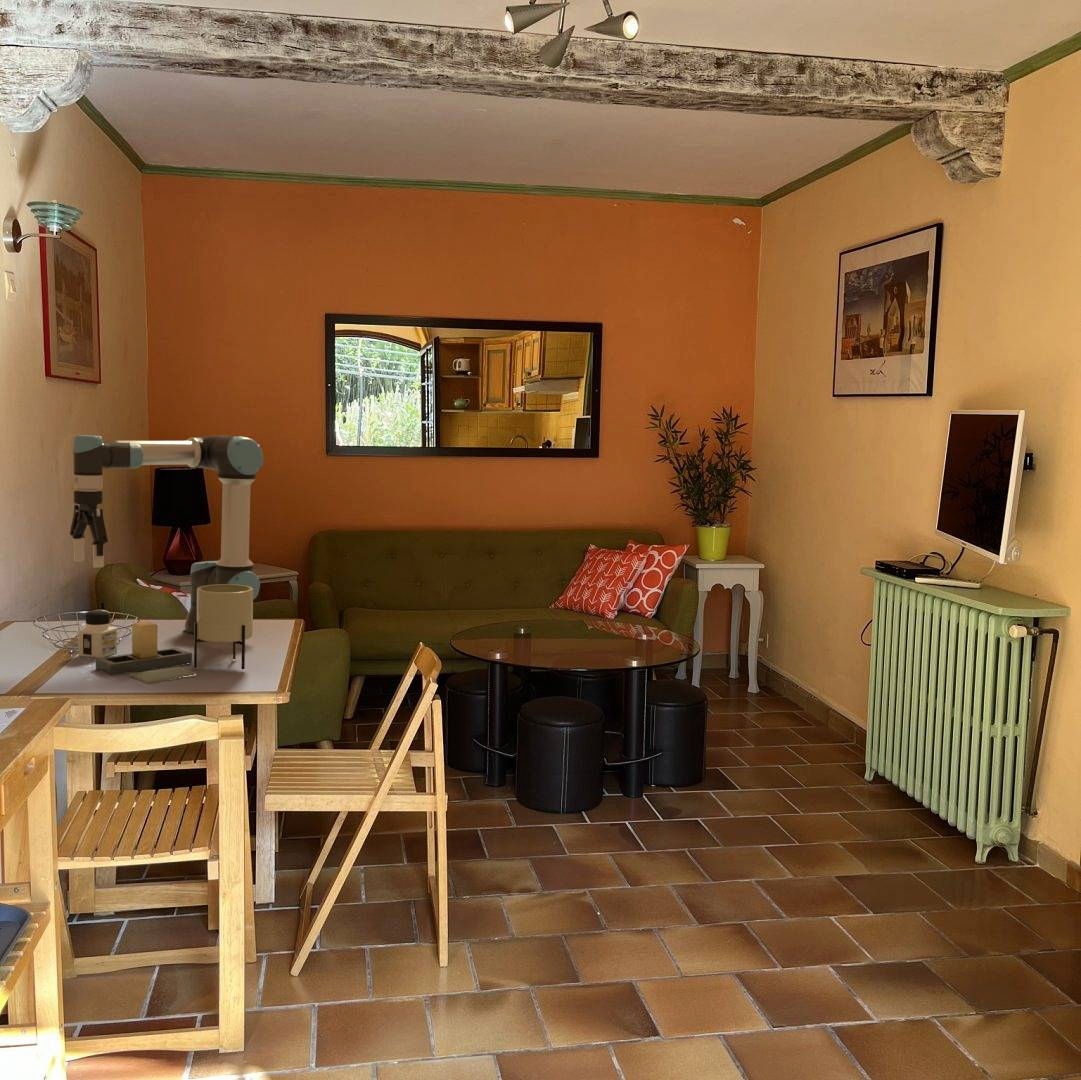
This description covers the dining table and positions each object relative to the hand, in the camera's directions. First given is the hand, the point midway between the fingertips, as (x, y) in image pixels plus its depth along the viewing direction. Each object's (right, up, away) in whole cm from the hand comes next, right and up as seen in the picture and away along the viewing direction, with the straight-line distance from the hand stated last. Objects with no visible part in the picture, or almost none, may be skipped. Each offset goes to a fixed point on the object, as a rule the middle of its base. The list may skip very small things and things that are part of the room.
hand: (88, 564), depth 301 cm
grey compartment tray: (+17, -29, -2) cm, 33 cm away
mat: (+26, -30, -12) cm, 41 cm away
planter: (+39, -30, +1) cm, 49 cm away
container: (-1, -27, +9) cm, 29 cm away
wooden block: (+17, -29, -2) cm, 34 cm away
